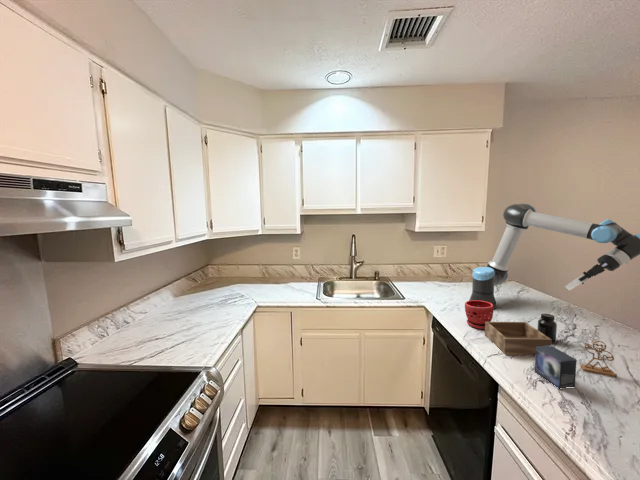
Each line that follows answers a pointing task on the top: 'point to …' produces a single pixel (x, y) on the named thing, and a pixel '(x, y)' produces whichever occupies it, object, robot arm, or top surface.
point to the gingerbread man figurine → (597, 369)
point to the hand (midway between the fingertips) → (569, 286)
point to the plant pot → (478, 313)
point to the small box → (555, 366)
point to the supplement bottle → (548, 326)
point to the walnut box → (515, 337)
